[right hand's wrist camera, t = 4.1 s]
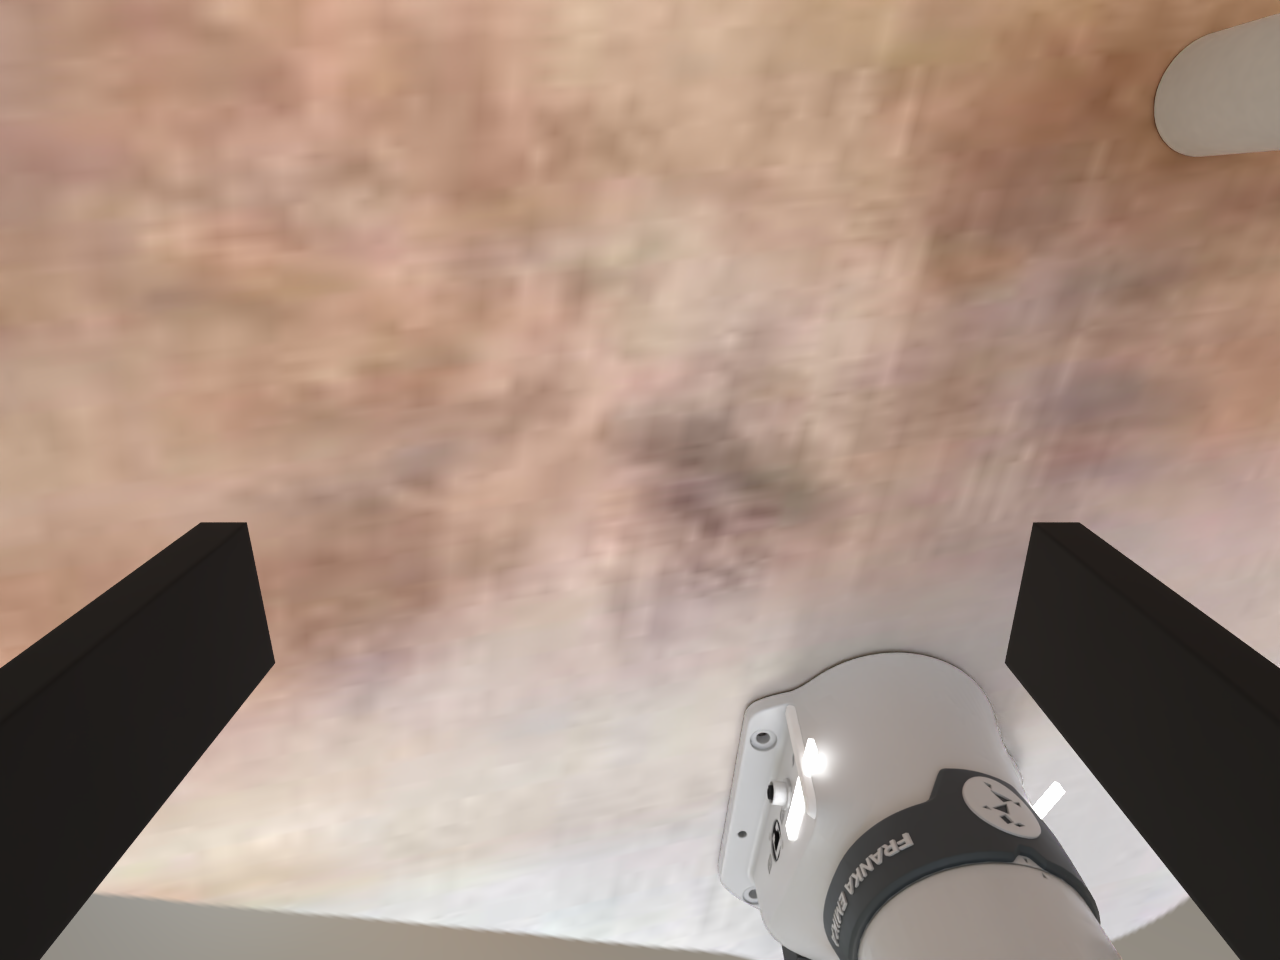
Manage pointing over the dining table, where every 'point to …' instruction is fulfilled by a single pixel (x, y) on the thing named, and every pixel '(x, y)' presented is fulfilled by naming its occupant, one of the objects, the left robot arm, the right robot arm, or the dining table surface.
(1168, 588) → the right robot arm
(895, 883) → the left robot arm
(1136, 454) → the dining table surface
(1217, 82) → the bottle
